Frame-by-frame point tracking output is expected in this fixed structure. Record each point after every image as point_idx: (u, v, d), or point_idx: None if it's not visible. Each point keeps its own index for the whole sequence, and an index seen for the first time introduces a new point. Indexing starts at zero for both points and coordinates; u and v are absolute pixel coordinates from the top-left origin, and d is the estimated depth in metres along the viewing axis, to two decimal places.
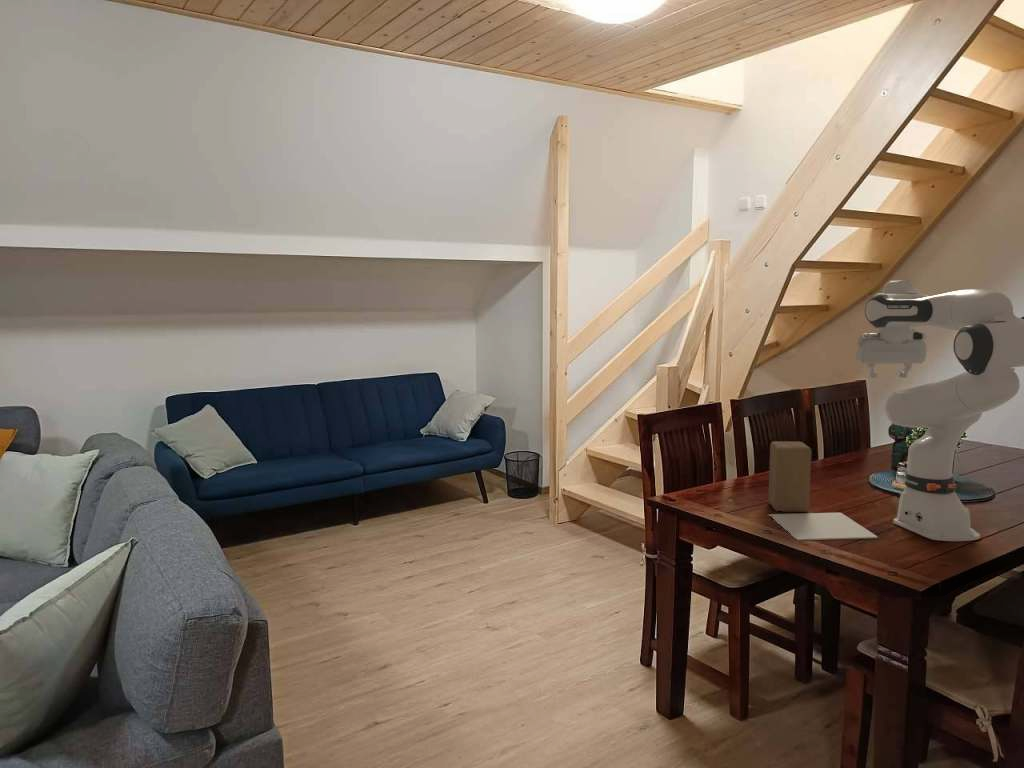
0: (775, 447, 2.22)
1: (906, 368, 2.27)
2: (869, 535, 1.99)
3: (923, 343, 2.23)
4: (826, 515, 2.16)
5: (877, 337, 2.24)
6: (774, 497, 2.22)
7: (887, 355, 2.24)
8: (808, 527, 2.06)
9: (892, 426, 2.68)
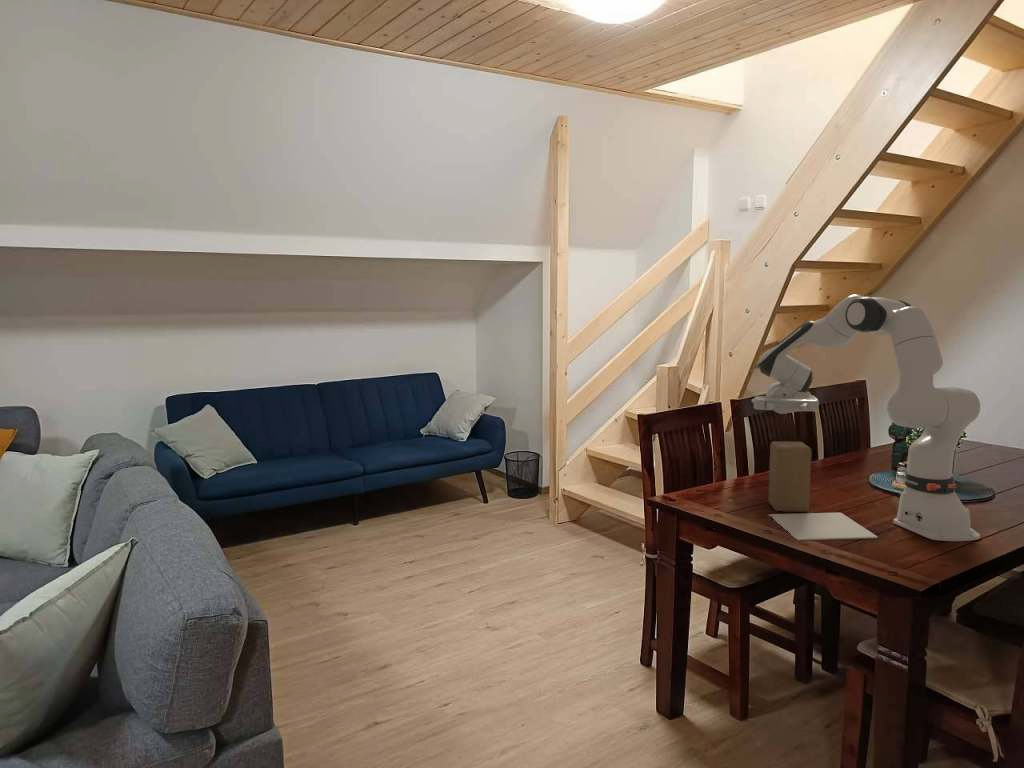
0: (775, 447, 2.22)
1: None
2: (869, 535, 1.99)
3: (810, 395, 2.44)
4: (826, 515, 2.16)
5: None
6: (774, 497, 2.22)
7: (779, 398, 2.43)
8: (808, 527, 2.06)
9: (892, 426, 2.68)
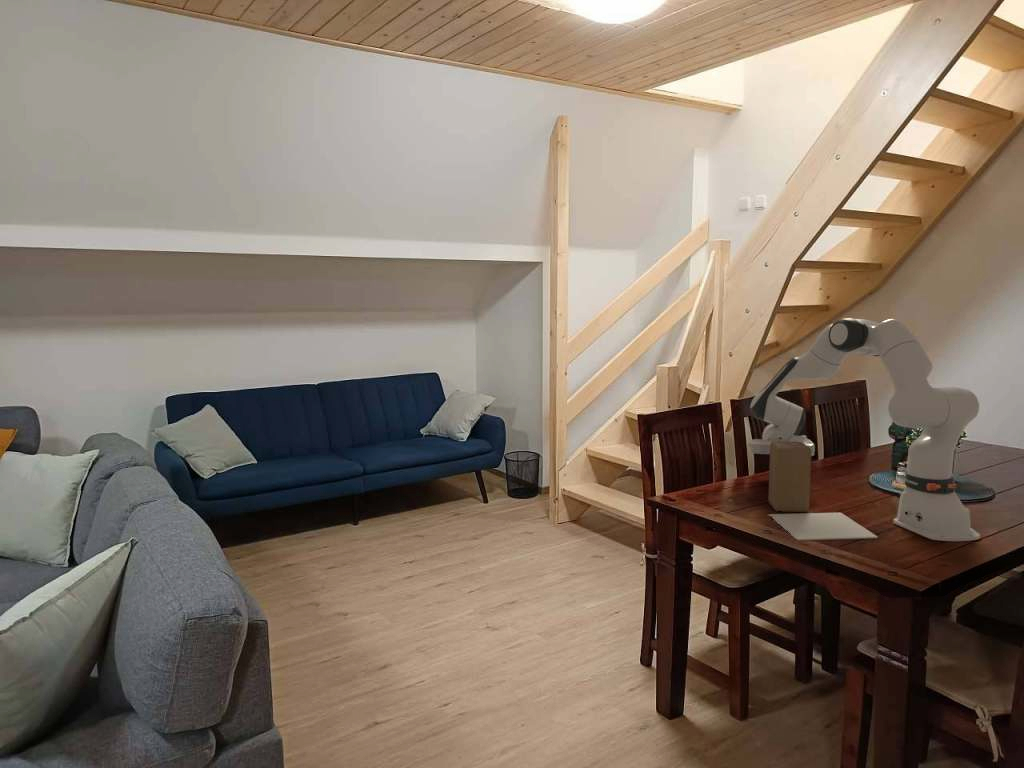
0: (775, 447, 2.22)
1: None
2: (869, 535, 1.99)
3: (806, 439, 2.44)
4: (826, 515, 2.16)
5: None
6: (774, 497, 2.22)
7: None
8: (808, 527, 2.06)
9: (892, 426, 2.68)
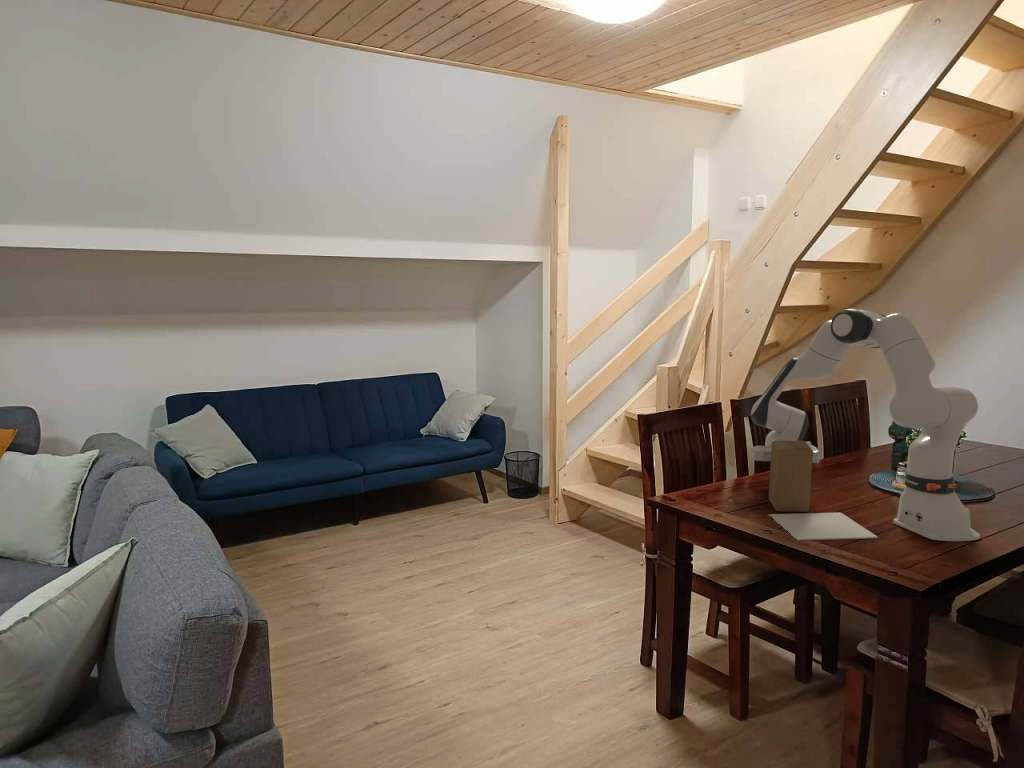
0: (777, 448, 2.20)
1: None
2: (869, 535, 1.99)
3: (811, 445, 2.36)
4: (826, 515, 2.16)
5: None
6: (774, 497, 2.22)
7: None
8: (808, 527, 2.06)
9: (892, 426, 2.68)
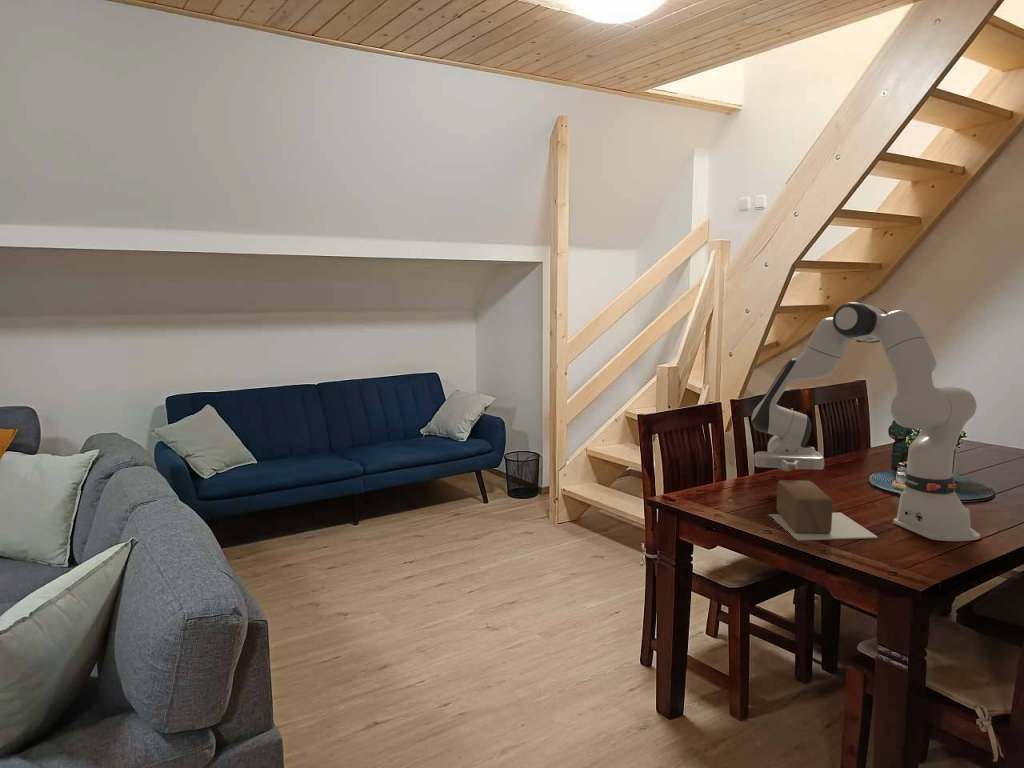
0: (795, 521, 2.01)
1: None
2: (869, 535, 1.99)
3: (815, 451, 2.28)
4: None
5: None
6: (779, 509, 2.17)
7: (782, 455, 2.27)
8: None
9: (892, 426, 2.68)
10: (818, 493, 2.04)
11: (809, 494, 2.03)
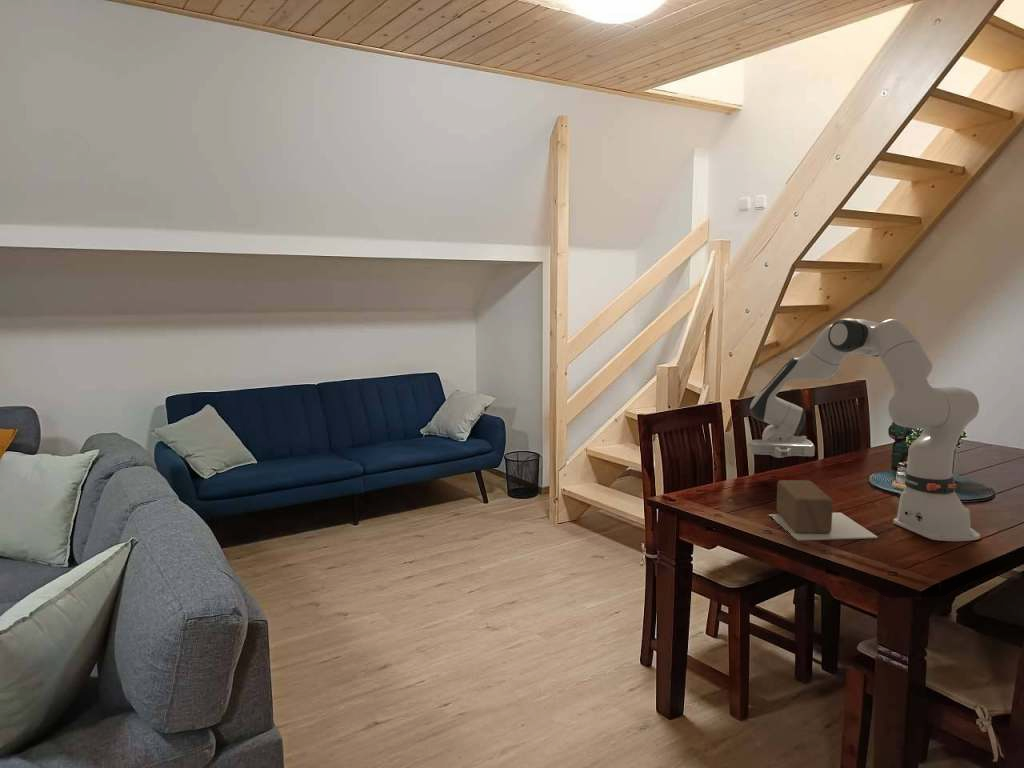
0: (795, 521, 2.01)
1: None
2: (869, 535, 1.99)
3: (806, 439, 2.44)
4: None
5: None
6: (779, 509, 2.17)
7: (775, 442, 2.43)
8: None
9: (892, 426, 2.68)
10: (818, 493, 2.04)
11: (809, 494, 2.03)
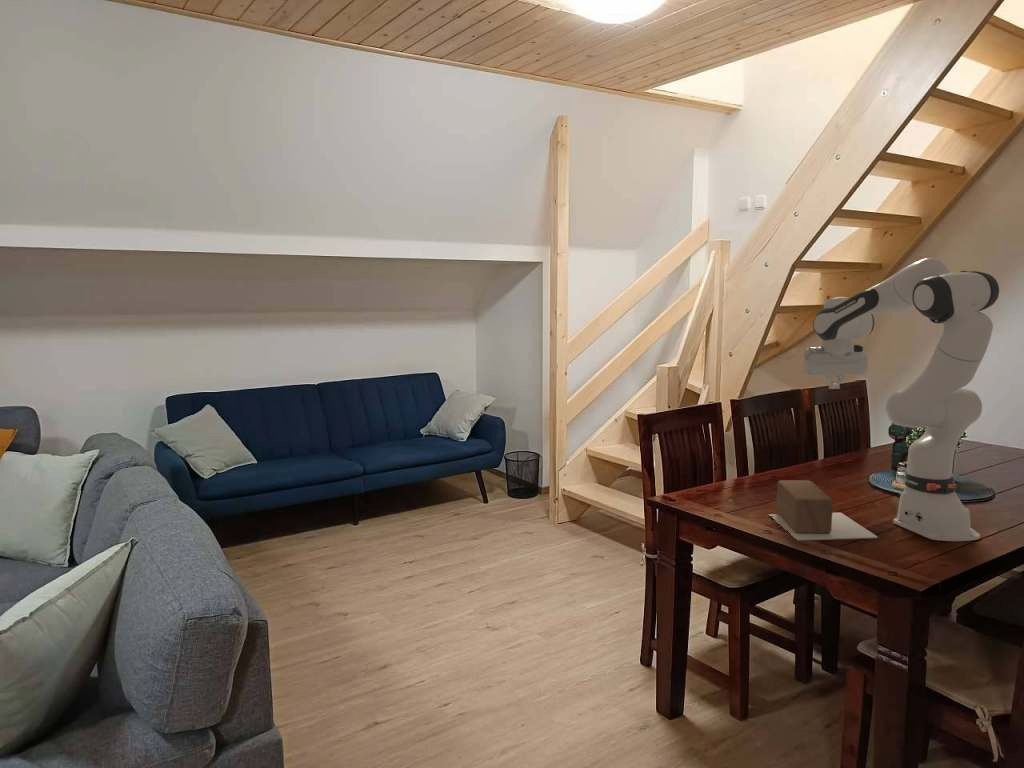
0: (795, 521, 2.01)
1: (838, 380, 2.42)
2: (869, 535, 1.99)
3: (864, 355, 2.39)
4: None
5: (821, 350, 2.40)
6: (779, 509, 2.17)
7: (832, 367, 2.40)
8: None
9: (892, 426, 2.68)
10: (818, 493, 2.04)
11: (809, 494, 2.03)
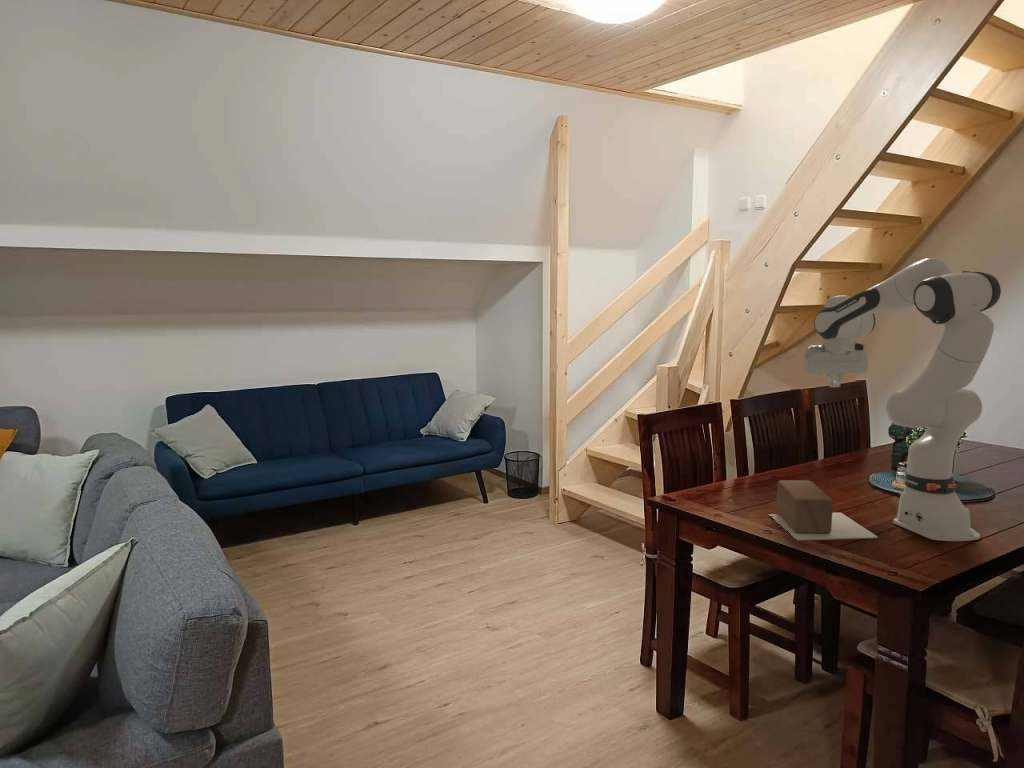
0: (795, 521, 2.01)
1: (839, 378, 2.42)
2: (869, 535, 1.99)
3: (865, 354, 2.38)
4: None
5: (822, 349, 2.40)
6: (779, 509, 2.17)
7: (832, 365, 2.39)
8: None
9: (892, 426, 2.68)
10: (818, 493, 2.04)
11: (809, 494, 2.03)
